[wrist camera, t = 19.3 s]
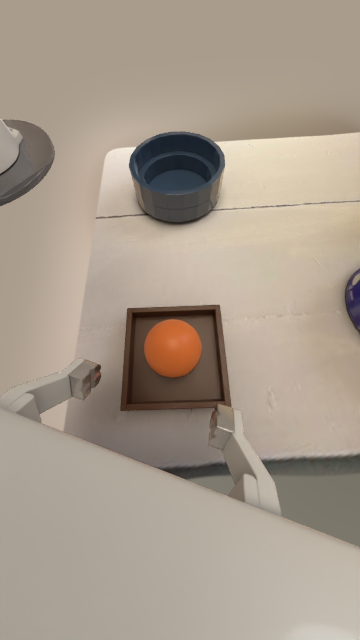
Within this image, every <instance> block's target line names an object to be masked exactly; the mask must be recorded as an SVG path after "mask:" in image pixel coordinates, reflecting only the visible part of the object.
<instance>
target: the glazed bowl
mask: <svg viewBox="0 0 360 640" xmlns="http://www.w3.org/2000/svg"><path fill="white" fill-rule="evenodd" d="M129 168H130V172H131V176H132V180H133V183H134V187H135V191H136V195H137V199H138V202H139V205H140V206H141V207H142V208H143V209H144V211H145V212H146V213H148V214H150V215H151V216H153V217H155V218H157V219H160V220H164V221H168V222H185V221H189V220H193V219H197V218H199V217H201V216H202V215H204V214H206V213H208V212H209V211H210V210H211V209H212V208H213V207H214V206H215V204H216V202H217V200H218V197H219V194H220V189H221V184H222V178H223V173H224V168H225V159H224V154H223V152H222V151H221V149H220V147H219V146H218V145H217V144H215V143H214V142H213V141H212V140H210V139H209V138H207V137H204V136H202V135H200V134H194V133H190V132H168V133H163V134H159V135H156V136H154V137H152V138H149V139H147V140H145V141H144V142H143V143H141V144H140V145H139V146H137V148H136V149H135V150H134V152H133V153H132V155H131V158H130V163H129Z"/></svg>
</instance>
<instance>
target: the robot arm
mask: <svg viewBox="0 0 360 640" xmlns="http://www.w3.org/2000/svg"><path fill="white" fill-rule="evenodd" d="M22 139H23V136H22V135H21V134H20V132H19V131H18V130H15V129H12V128H9V127H7V126H6V124H5V123H4V122H3V120H2V119H1V118H0V174H1V173H2V172H4V171H5V170H7V169H8V168H9V167H10V166H11V165H12V164H13V163H14V162H15V161H16V159H17V157H18V154H19V145H20V143H21V141H22ZM100 369H101V365H99V364H97V363H94V362H91V361H88V360H85V359H82V358H78V359H76V360H75V361H74V362H73V363H71V364H70V365H69V366H68V367H67V368H65V369H64V370H63V371H62V372H60V373H54V374H51V375H48V376H45V377H42V378H39V379H36V380H33V381H30V382H26V383H24V384H20V385H17V386H14V387H12V388H11V389H10V390H8V391H7V392H5V393H4V394H2V395H1V396H0V640H360V547H358V546H355V545H353V544H350V543H348V542H345V541H342V540H340V539H337V538H335V537H332V536H330V535H327V534H324V533H322V532H319V531H317V530H314V529H312V528H309V527H306V526H304V525H301V524H299V523H296V522H294V521H291V520H288V519H286V518H283V517H282V515H281V511H280V505H279V500H278V496H277V491H276V486H275V483H274V481H273V479H272V478H271V476H270V475H269V473H268V471H267V470H266V468H265V467H264V465H263V463H262V462H261V460H260V458H259V457H258V455H257V454H256V452H255V450H254V449H253V447H252V446H251V444H250V442H249V441H248V439H247V438H246V437H244V430H243V421H242V412H241V411H240V410H237V409H234V408H231V407H228V406H225V405H222V404H219V403H217V404H216V406H215V411H213V413H212V416H211V420H210V429H211V431H210V433H209V442H208V445H209V446H212V447H215V448H217V449H220V450H222V453H223V455H224V458H225V460H226V463H227V465H228V468H229V470H230V473H231V475H232V478H233V480H234V483H235V487H234V488H233V489H232V491H231V492H230V493H229V495H228V496H226V495H224V494H222V493H219V492H217V491H214V490H211V489H209V488H206V487H204V486H201V485H199V484H196V483H193V482H191V481H188V480H186V479H183V478H181V477H178V476H175V475H173V474H170V473H168V472H165V471H163V470H160V469H157V468H155V467H152V466H150V465H147V464H145V463H142V462H140V461H137V460H134V459H132V458H129V457H127V456H124V455H122V454H119V453H116V452H114V451H111V450H109V449H106V448H104V447H101V446H98V445H96V444H93V443H91V442H88V441H86V440H83V439H80V438H78V437H75V436H73V435H70V434H68V433H65V432H62V431H60V430H57V429H55V428H52V427H50V426H47V425H45V424H42V423H41V418H40V414H41V413H42V412H44V411H46V410H48V409H50V408H52V407H54V406H56V405H57V404H60V403H62V402H63V401H65V400H67V399H69V398H71V397H75V398H79V399H82V400H84V399H85V398H86V397H87V396H88V395H89V394H90V392H91V389H92V388H94V387H96V385H97V384H98V383H99V381H100V378H101V373H100V371H99V370H100Z"/></svg>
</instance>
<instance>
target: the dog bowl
mask: <svg viewBox="0 0 360 640" xmlns="http://www.w3.org/2000/svg"><path fill="white" fill-rule="evenodd" d="M346 303H347V308H348V311H349V314H350V316H351V318H352V320H353V322H354V323H355V325H356V327H357V328H358V330H359V331H360V269H359V270H358V271H356V272H355V273H354V275H353V276H352V277H351V279H350V280H349V283H348V285H347V289H346Z"/></svg>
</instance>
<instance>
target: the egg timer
mask: <svg viewBox="0 0 360 640" xmlns="http://www.w3.org/2000/svg"><path fill="white" fill-rule="evenodd" d="M144 353H145V358H146V360H147V362H148V364H149V366H150V367H151V368H152V369H153V370H154V371H155V372H156V373H157V374H159V375H161V376H163V377H167V378H181V377H184V376H186V375H188V374H189V373H190V372H191V371H193V370H194V368H195V367H196V366H197V364H198V363H199V361H200V358H201V354H202V345H201V340H200V337H199V335H198V333H197V332H196V330H195V329H194V328H193V327H192V326H191V325H190V324H188V323H186V322H184V321H181V320H176V319H170V320H165V321H162V322H160V323H158V324H157V325H155V326H154V327H153V328H152V329H151V330H150V332H149V333H148V335H147V337H146V340H145V344H144Z"/></svg>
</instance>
